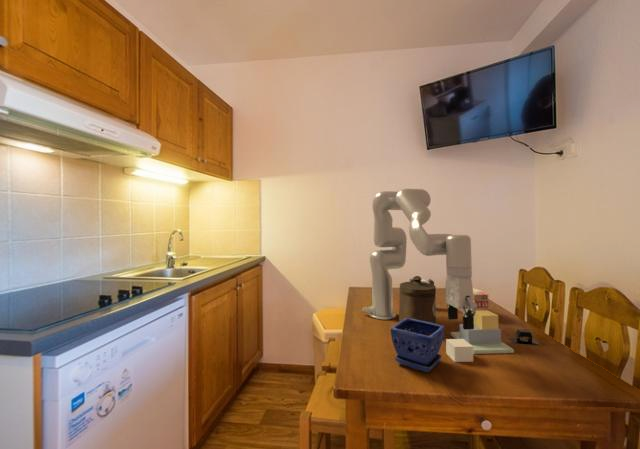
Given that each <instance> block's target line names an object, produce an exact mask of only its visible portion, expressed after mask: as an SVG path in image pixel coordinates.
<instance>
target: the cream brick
mask: <svg viewBox="0 0 640 449" xmlns="http://www.w3.org/2000/svg"><path fill="white" fill-rule="evenodd" d="M445 354H447V356H448V357H449V358H450V359H451V360H452V361H453V362H454V363H463V362H464V363H465V362H467V363H469V362H471V363H473V362H474V354H473V346H472V345H471V344H469V343H468V342H467V341H465V340H464V339H455V338H449V339H448V338H446V339H445Z"/></svg>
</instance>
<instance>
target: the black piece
mask: <svg viewBox="0 0 640 449" xmlns="http://www.w3.org/2000/svg"><path fill="white" fill-rule="evenodd" d="M515 335H516V336H515V337H510V336H509V337H507V336H506V337H507V339H508V340H509V342H511V343H512V344H516V345H526V346H527V345H528V346H539V347H540V346H542V344H540V343H539V341H537V340H536V339H533V334H532V332H531V330H529V329H521V328H517V329H516V331H515Z"/></svg>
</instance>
